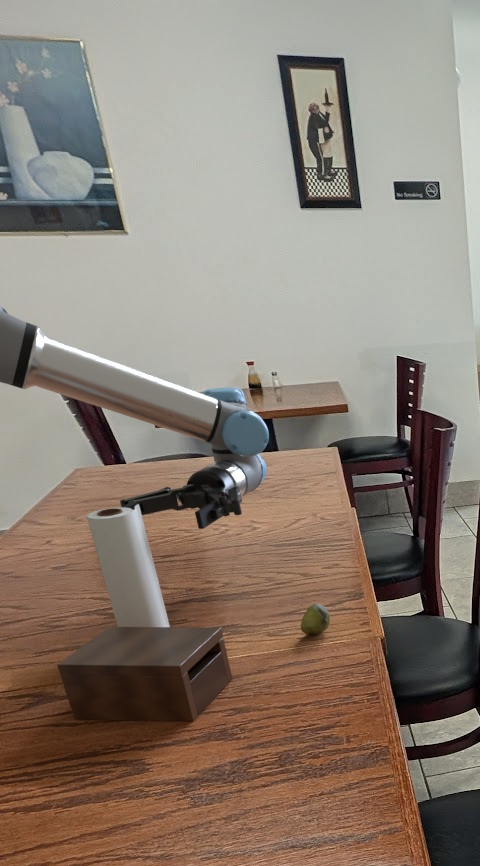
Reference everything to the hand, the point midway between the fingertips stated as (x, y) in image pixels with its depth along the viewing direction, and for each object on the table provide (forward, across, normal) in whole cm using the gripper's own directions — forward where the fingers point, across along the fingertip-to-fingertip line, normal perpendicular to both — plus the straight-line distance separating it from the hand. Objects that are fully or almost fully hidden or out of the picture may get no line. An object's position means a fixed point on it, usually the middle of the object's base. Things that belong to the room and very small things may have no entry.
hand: (157, 520), depth 129 cm
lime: (+5, -25, -17) cm, 31 cm away
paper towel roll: (+10, 0, -17) cm, 20 cm away
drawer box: (+27, -10, -17) cm, 34 cm away
